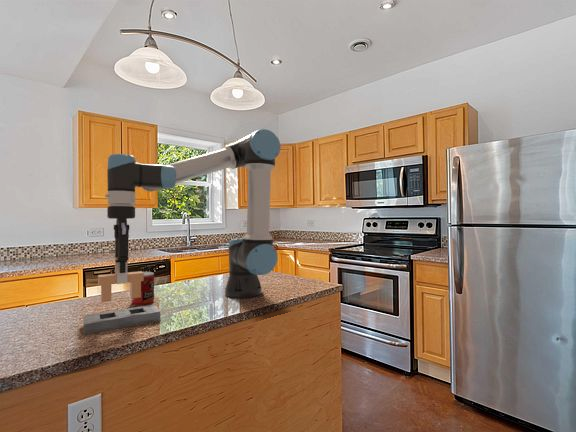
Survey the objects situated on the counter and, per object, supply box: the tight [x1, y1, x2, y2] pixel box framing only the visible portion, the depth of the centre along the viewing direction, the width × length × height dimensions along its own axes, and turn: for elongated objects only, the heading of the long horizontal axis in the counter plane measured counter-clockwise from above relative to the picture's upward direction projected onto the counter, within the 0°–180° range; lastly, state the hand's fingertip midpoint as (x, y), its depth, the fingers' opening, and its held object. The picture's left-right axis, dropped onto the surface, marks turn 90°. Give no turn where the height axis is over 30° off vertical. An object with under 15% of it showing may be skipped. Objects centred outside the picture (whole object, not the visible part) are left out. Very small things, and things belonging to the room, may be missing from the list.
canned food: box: [131, 271, 155, 306], centre depth 118 cm, size 8×8×11 cm
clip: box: [97, 256, 144, 303], centre depth 96 cm, size 12×4×12 cm, turn 124°
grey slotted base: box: [83, 303, 161, 336], centre depth 96 cm, size 20×9×3 cm, turn 124°
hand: (121, 282), depth 96 cm, fingers closed on clip, 3 cm apart
